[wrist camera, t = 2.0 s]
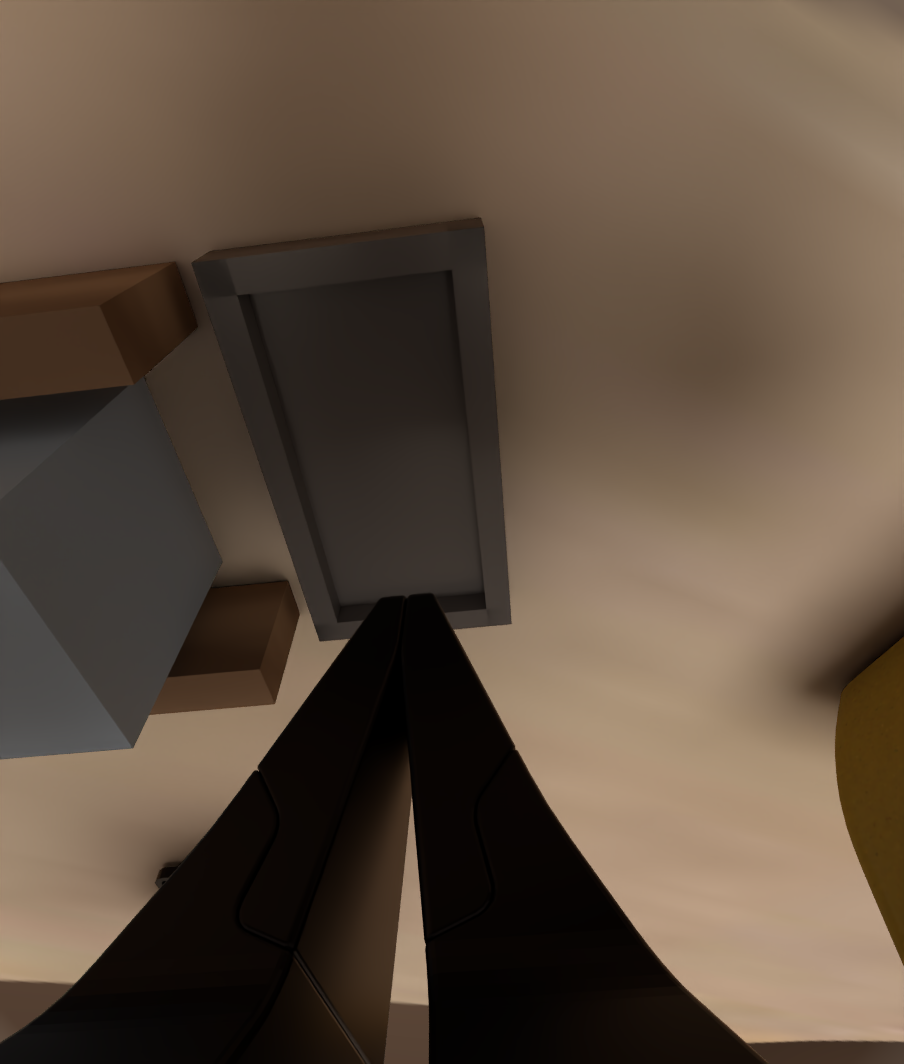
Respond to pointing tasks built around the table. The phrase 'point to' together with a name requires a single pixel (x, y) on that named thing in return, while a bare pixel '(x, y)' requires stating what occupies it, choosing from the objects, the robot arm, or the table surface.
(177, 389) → the table surface
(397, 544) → the tray
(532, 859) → the robot arm
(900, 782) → the flower pot
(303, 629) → the table surface
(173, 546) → the block
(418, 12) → the table surface
